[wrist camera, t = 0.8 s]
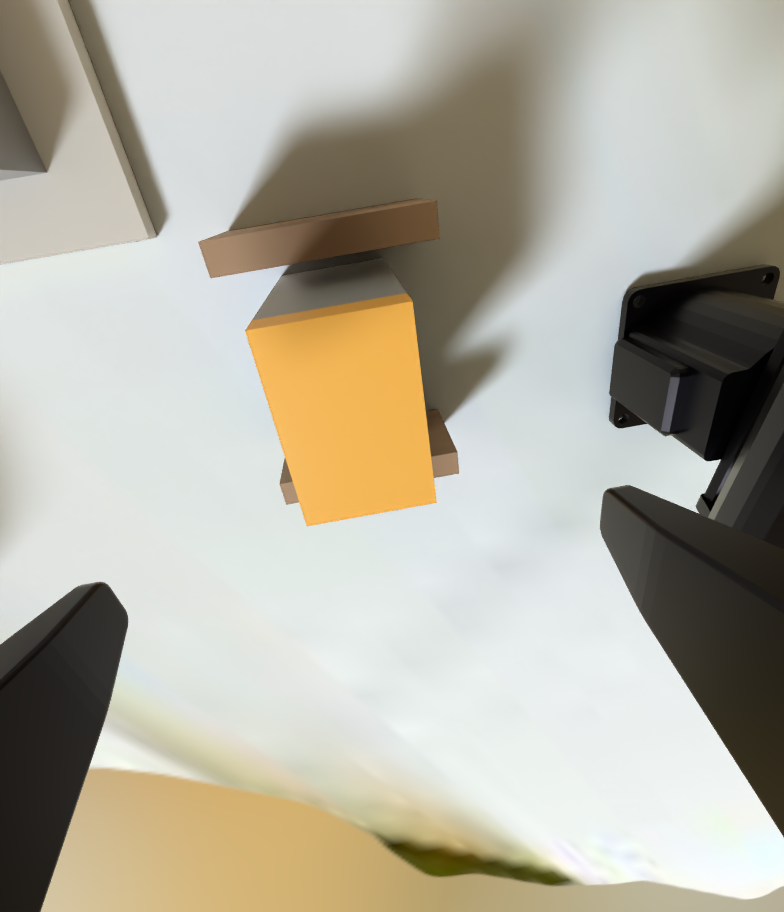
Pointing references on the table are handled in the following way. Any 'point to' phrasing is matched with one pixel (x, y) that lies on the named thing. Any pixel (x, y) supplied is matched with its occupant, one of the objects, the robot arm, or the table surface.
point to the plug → (346, 390)
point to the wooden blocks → (326, 241)
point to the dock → (58, 142)
